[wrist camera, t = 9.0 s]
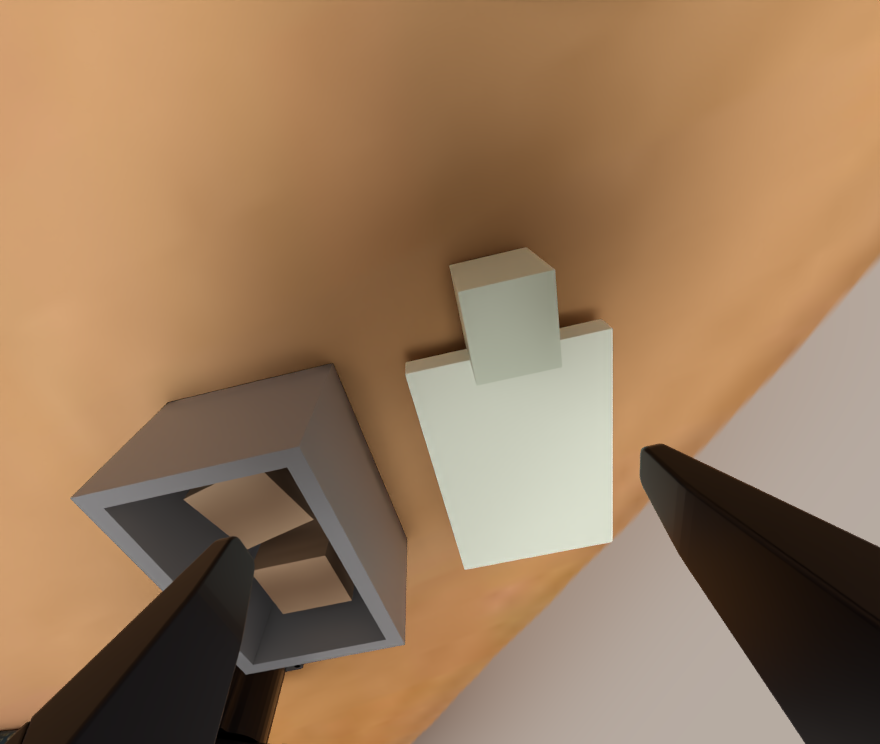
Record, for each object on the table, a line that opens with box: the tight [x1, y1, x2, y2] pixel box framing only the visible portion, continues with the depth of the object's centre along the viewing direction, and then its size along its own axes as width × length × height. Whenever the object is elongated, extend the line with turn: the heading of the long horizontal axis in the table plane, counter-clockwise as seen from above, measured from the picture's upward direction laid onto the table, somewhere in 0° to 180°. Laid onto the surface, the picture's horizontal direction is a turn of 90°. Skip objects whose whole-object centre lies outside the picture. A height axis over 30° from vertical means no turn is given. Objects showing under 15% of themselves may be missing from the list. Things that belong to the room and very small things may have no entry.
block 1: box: [183, 468, 315, 549], centre depth 19 cm, size 4×4×4 cm
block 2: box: [254, 517, 354, 614], centre depth 22 cm, size 4×4×4 cm
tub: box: [70, 363, 407, 675], centre depth 20 cm, size 14×9×6 cm, turn 13°
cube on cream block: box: [405, 247, 613, 570], centre depth 20 cm, size 19×10×4 cm, turn 12°
